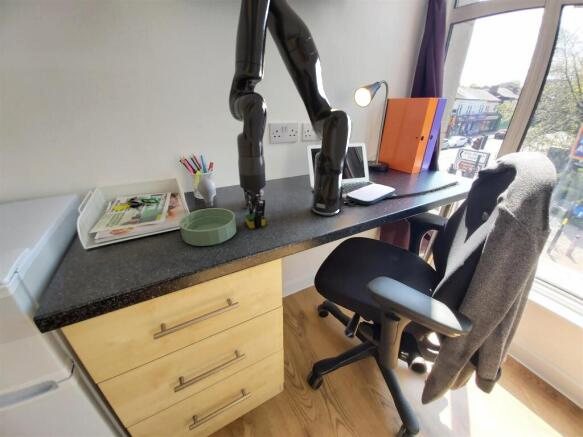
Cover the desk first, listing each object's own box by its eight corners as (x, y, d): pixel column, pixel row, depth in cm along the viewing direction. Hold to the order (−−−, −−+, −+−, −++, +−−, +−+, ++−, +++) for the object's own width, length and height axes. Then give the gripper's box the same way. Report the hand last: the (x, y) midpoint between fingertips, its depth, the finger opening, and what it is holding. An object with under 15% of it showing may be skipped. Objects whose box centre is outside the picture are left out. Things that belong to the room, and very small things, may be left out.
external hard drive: (373, 187, 110) (374, 182, 109) (397, 193, 102) (398, 189, 101) (342, 199, 96) (343, 194, 95) (367, 207, 88) (368, 202, 87)
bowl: (230, 218, 79) (228, 204, 77) (242, 239, 67) (241, 224, 64) (180, 228, 73) (177, 213, 70) (184, 253, 60) (181, 236, 58)
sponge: (261, 220, 78) (260, 212, 77) (265, 225, 75) (264, 216, 73) (246, 223, 76) (245, 214, 75) (250, 228, 73) (249, 219, 71)
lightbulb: (208, 212, 83) (203, 182, 78) (197, 208, 86) (192, 179, 81) (221, 206, 88) (218, 178, 83) (210, 203, 91) (206, 175, 86)
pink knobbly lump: (252, 213, 86) (259, 198, 83) (241, 207, 86) (248, 191, 83) (260, 203, 95) (267, 189, 92) (250, 197, 95) (257, 183, 92)
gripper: (273, 175, 63) (275, 231, 71) (256, 164, 75) (259, 213, 82) (246, 178, 60) (251, 236, 68) (233, 166, 72) (238, 217, 79)
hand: (255, 223), depth 75 cm, fingers closed on sponge, 4 cm apart
